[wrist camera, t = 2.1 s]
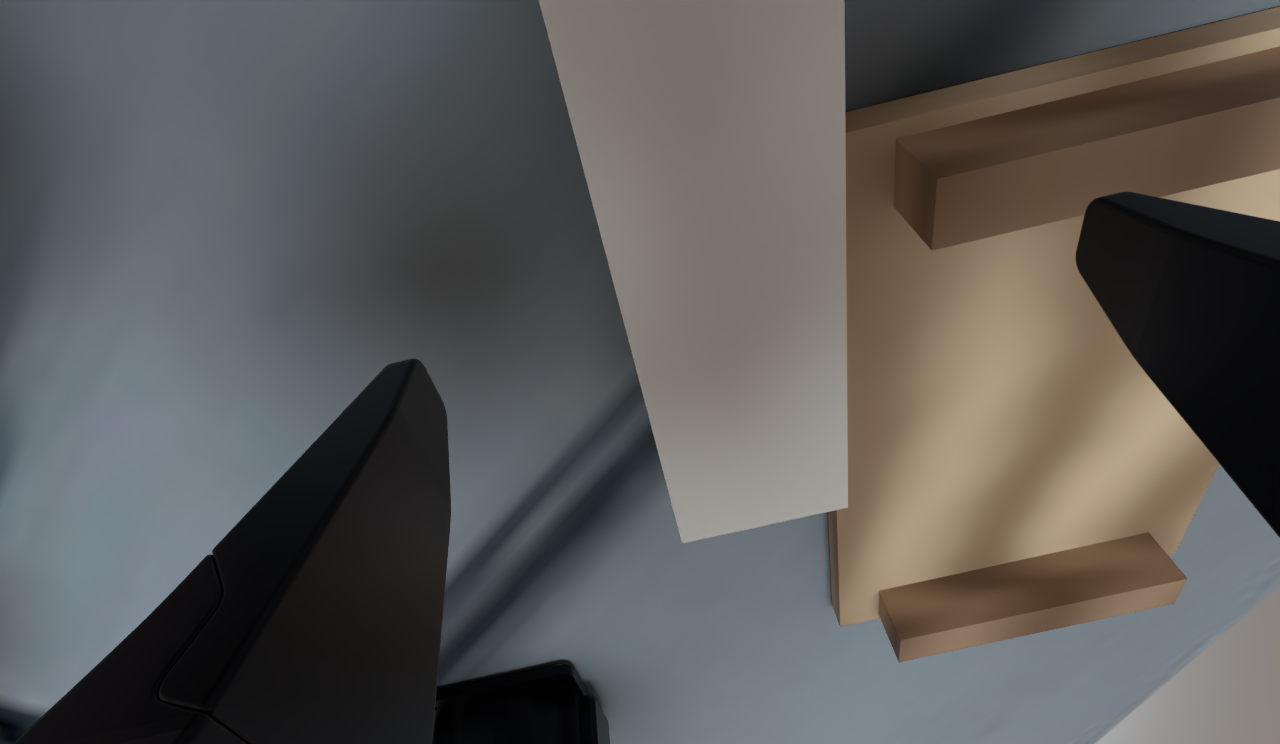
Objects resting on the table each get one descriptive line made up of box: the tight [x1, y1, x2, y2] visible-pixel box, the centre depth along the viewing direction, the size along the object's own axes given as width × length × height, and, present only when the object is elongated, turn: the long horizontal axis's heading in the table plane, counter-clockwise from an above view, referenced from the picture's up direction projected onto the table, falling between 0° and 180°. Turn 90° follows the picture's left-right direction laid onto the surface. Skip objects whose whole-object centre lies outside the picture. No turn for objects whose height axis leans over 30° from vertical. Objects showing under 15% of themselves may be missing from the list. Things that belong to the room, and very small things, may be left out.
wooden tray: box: [828, 7, 1280, 662], centre depth 21 cm, size 13×20×3 cm, turn 12°
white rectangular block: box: [539, 0, 848, 544], centre depth 13 cm, size 4×14×6 cm, turn 11°
